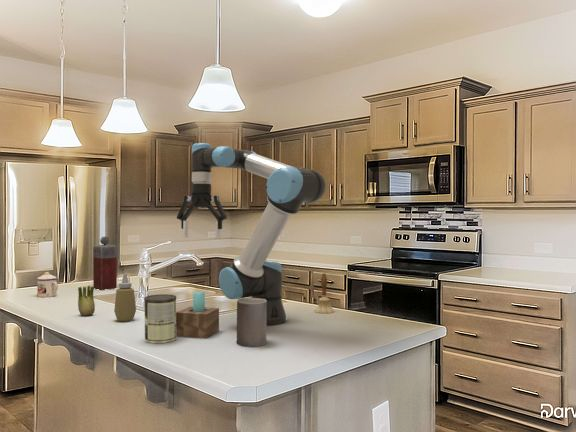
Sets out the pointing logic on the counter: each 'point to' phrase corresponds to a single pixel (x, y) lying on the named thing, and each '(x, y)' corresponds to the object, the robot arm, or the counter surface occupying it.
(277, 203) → the robot arm
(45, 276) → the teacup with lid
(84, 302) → the fennel bulb
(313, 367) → the counter surface
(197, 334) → the socket block
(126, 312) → the squeeze bottle
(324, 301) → the hand bell
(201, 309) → the dowel
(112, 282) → the glass decanter
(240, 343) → the pillar candle
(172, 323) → the coffee can
